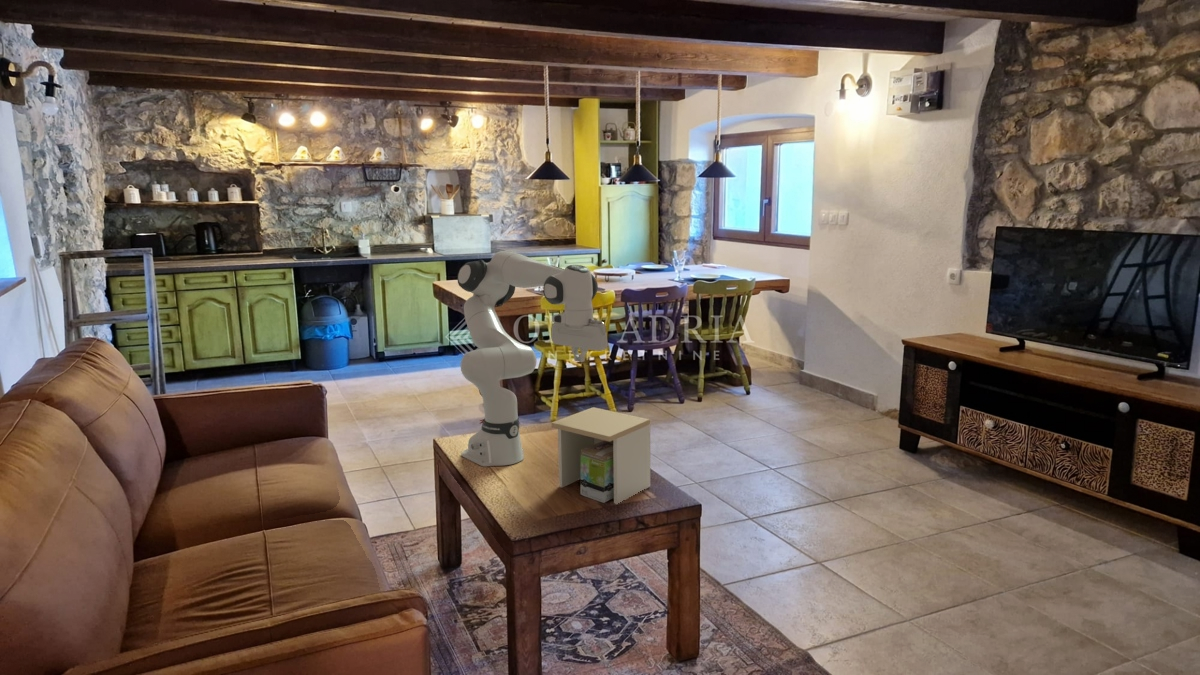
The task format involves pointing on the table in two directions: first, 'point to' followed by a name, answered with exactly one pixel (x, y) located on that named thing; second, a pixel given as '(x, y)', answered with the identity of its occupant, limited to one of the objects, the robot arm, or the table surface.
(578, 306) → the robot arm
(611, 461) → the tea box
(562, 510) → the table surface
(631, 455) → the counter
